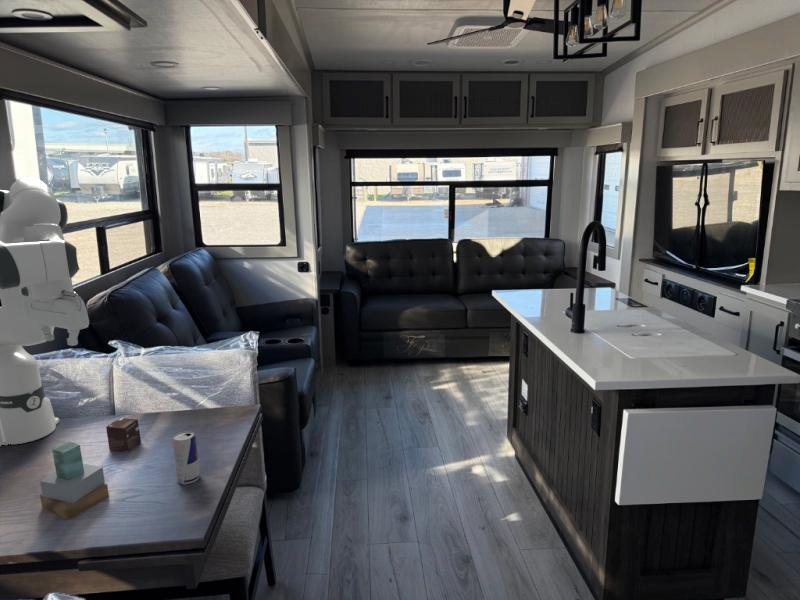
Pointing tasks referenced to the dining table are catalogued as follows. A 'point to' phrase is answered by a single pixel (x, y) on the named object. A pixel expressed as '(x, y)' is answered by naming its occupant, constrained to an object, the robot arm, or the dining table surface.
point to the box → (123, 434)
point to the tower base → (75, 503)
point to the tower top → (73, 484)
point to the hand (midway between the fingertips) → (61, 342)
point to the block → (68, 460)
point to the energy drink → (186, 457)
